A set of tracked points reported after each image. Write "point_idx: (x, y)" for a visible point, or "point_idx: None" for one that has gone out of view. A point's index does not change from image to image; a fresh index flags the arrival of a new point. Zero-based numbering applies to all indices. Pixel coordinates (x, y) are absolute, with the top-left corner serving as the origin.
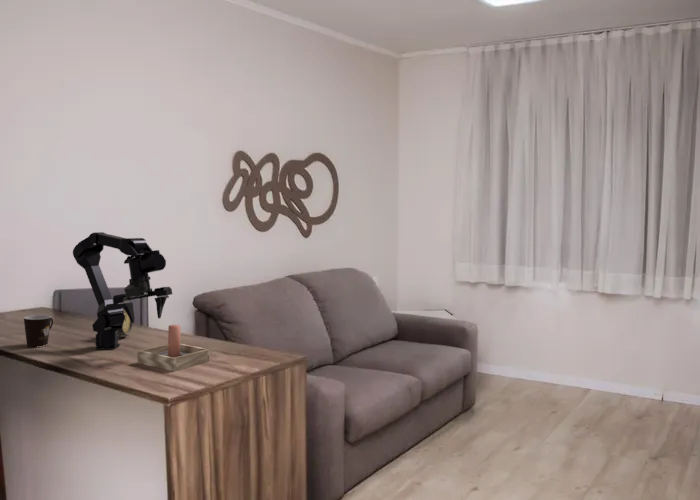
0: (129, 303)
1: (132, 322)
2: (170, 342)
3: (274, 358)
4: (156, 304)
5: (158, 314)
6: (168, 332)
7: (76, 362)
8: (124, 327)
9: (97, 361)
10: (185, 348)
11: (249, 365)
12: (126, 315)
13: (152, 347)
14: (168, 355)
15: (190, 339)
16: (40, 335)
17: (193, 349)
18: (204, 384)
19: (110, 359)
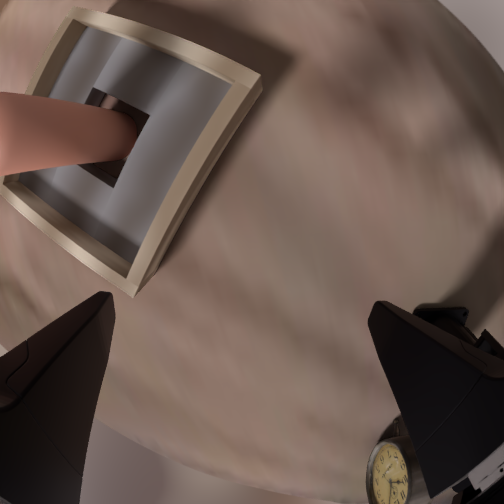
0: (474, 456)
1: (381, 301)
2: (69, 102)
3: None
4: (23, 386)
5: (84, 307)
6: (45, 109)
7: (484, 110)
8: (389, 460)
9: (433, 117)
10: (77, 235)
11: None
12: (389, 497)
13: (200, 165)
14: (116, 115)
15: (182, 444)
16: None
17: (43, 211)
18: None
19: (398, 150)
